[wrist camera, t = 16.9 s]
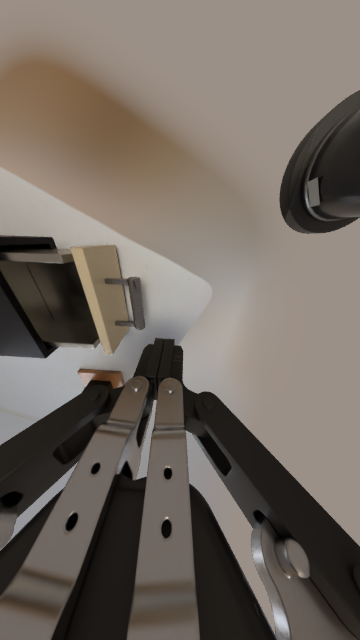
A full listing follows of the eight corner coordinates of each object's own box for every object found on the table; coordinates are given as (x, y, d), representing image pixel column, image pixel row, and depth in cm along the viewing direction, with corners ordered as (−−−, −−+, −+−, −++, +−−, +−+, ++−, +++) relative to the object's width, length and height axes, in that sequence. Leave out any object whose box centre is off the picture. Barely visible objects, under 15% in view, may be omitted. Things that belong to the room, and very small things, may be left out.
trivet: (121, 371, 33) (119, 375, 32) (127, 396, 38) (126, 399, 37) (79, 368, 33) (77, 372, 32) (91, 393, 38) (89, 397, 38)
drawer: (146, 246, 19) (127, 249, 13) (152, 329, 25) (142, 356, 19) (18, 241, 19) (-58, 242, 13) (58, 324, 26) (20, 349, 20)
